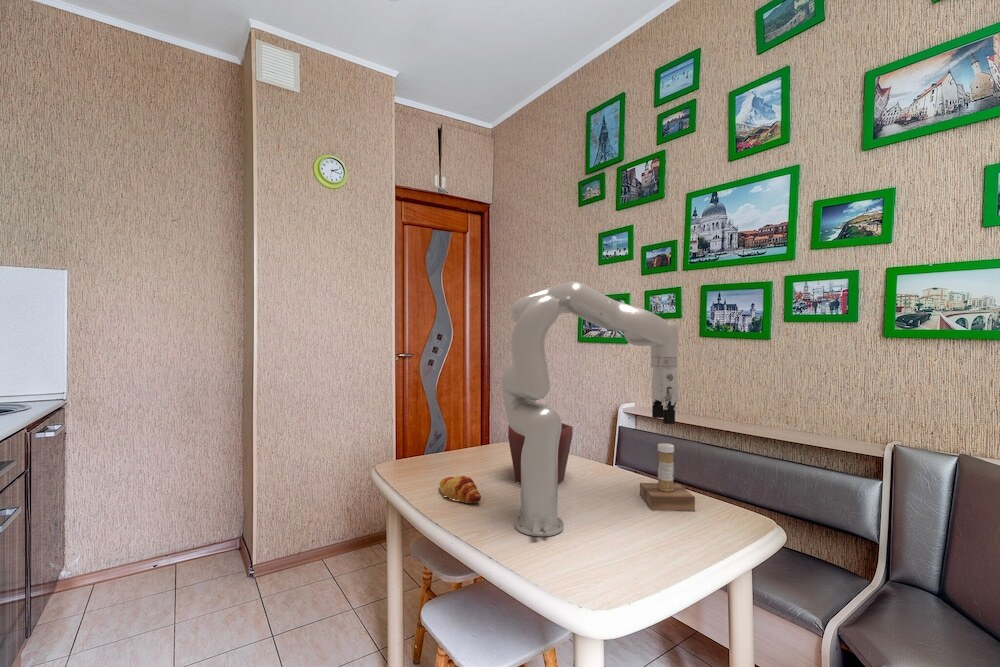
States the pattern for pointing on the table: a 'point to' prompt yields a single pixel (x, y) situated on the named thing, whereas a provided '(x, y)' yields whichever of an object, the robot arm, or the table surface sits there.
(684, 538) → the table surface
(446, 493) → the croissant
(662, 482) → the sprinkles bottle
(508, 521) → the table surface
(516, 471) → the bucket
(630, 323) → the robot arm
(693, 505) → the walnut plinth
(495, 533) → the table surface
